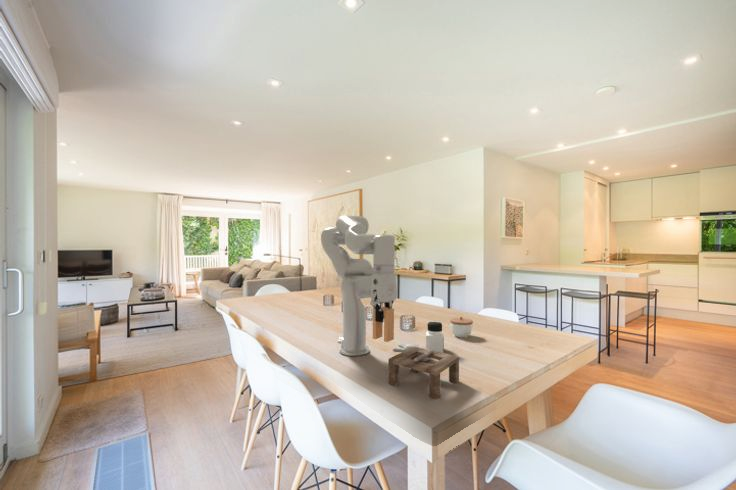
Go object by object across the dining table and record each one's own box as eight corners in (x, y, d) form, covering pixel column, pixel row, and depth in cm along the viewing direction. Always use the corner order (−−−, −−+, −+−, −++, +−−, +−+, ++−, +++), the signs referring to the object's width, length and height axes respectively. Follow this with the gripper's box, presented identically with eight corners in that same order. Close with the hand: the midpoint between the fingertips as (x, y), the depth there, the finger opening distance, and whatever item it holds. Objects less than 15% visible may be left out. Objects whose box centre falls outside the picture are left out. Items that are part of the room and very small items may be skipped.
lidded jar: (475, 339, 153) (475, 319, 153) (453, 339, 154) (453, 319, 154) (469, 333, 164) (468, 314, 164) (447, 332, 164) (447, 314, 164)
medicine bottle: (443, 353, 133) (443, 324, 133) (426, 352, 134) (426, 323, 134) (443, 348, 140) (443, 320, 140) (426, 347, 141) (426, 319, 141)
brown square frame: (388, 383, 104) (388, 355, 104) (414, 368, 117) (414, 343, 117) (436, 399, 94) (436, 367, 94) (458, 380, 106) (458, 353, 106)
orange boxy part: (372, 338, 116) (373, 308, 116) (379, 335, 120) (379, 306, 119) (387, 342, 112) (387, 310, 112) (393, 339, 116) (394, 308, 115)
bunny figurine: (428, 354, 120) (391, 344, 128) (426, 368, 121) (390, 356, 128) (435, 347, 129) (401, 338, 136) (434, 360, 129) (399, 349, 136)
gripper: (378, 272, 107) (377, 327, 107) (405, 268, 120) (404, 317, 120) (360, 270, 111) (360, 323, 112) (388, 267, 124) (388, 314, 125)
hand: (383, 319), depth 116 cm, fingers closed on orange boxy part, 4 cm apart
